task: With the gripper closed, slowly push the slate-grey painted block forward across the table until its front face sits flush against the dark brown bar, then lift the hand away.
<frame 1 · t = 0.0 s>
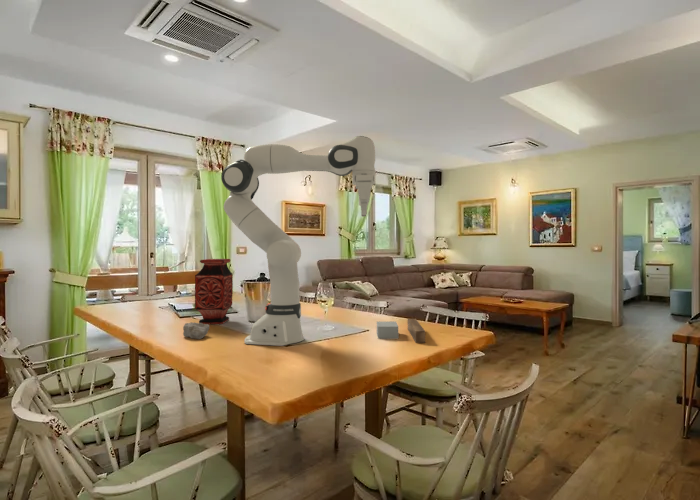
hand: (364, 215, 155), 48 cm above the table, fingers open, 8 cm apart
vase: (214, 322, 192), on the table
block: (387, 336, 163), on the table
stone: (195, 337, 162), on the table
dark brown bar: (415, 335, 162), on the table
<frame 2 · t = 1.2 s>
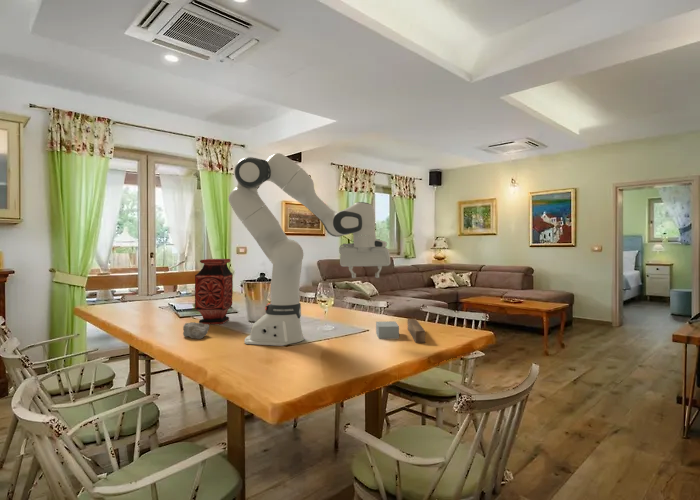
hand: (365, 277, 161), 24 cm above the table, fingers open, 8 cm apart
nothing on the table moved.
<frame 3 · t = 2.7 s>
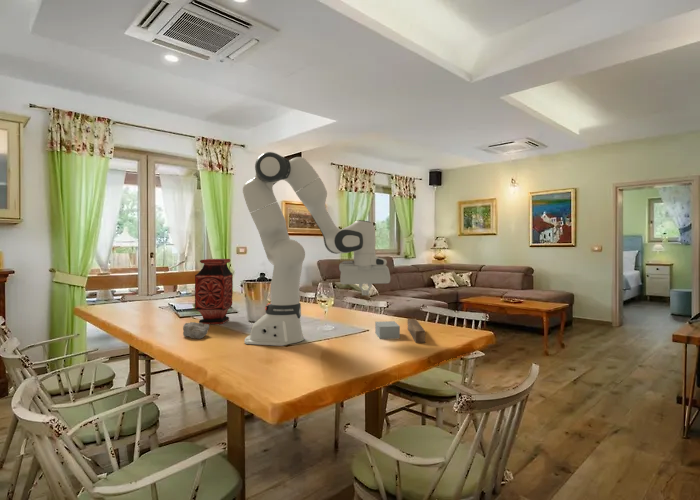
hand: (365, 294, 162), 16 cm above the table, fingers closed
nothing on the table moved.
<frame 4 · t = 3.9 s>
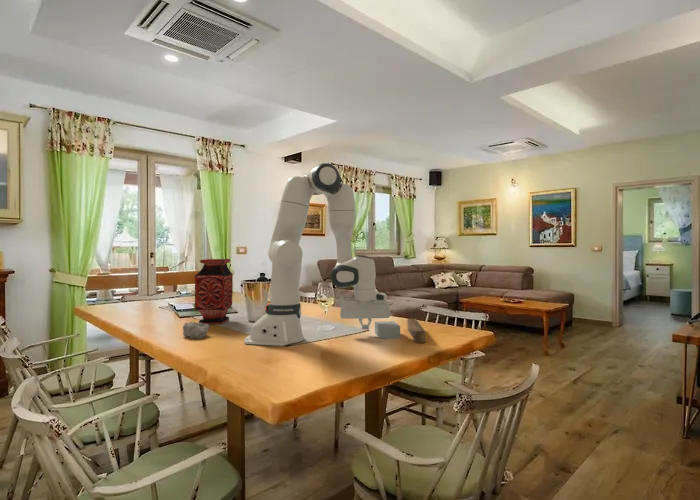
hand: (365, 329, 163), 2 cm above the table, fingers closed
nothing on the table moved.
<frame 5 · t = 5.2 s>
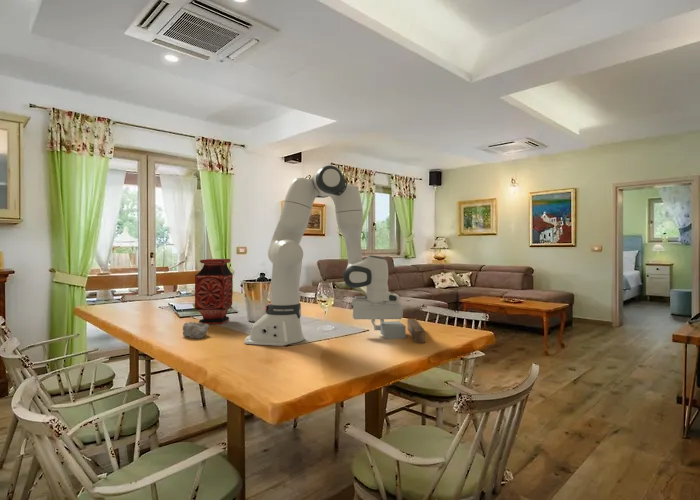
hand: (377, 330, 163), 2 cm above the table, fingers closed
block: (392, 336, 163), on the table, touching gripper
everything else where it was.
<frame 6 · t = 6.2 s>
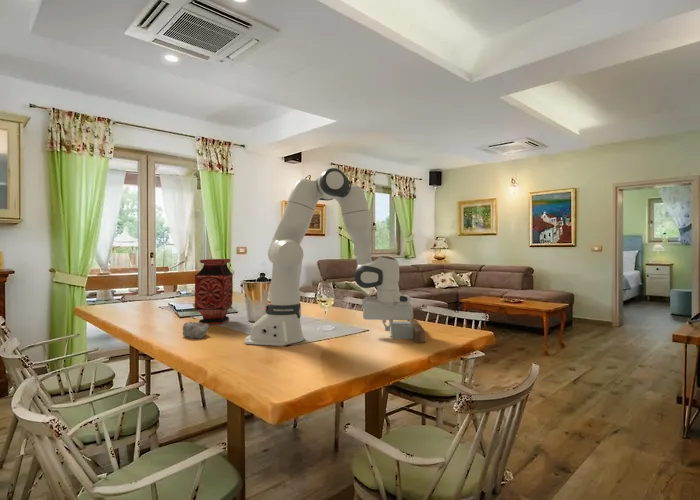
hand: (387, 330, 163), 2 cm above the table, fingers closed
block: (401, 336, 162), on the table, touching dark brown bar, gripper
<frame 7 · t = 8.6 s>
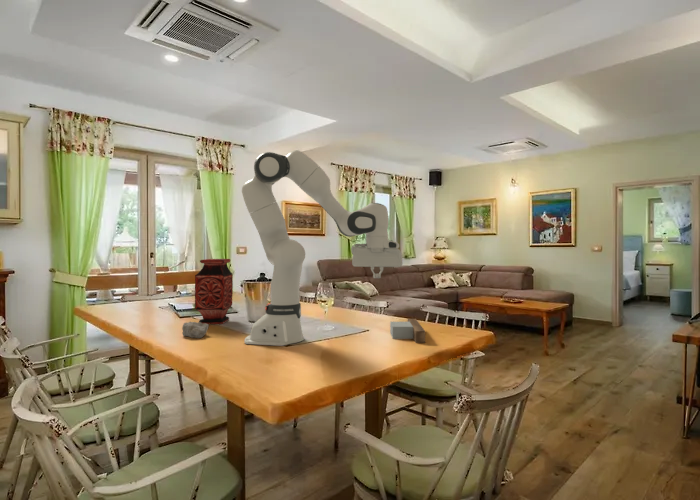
hand: (376, 278, 162), 23 cm above the table, fingers closed
block: (401, 336, 162), on the table
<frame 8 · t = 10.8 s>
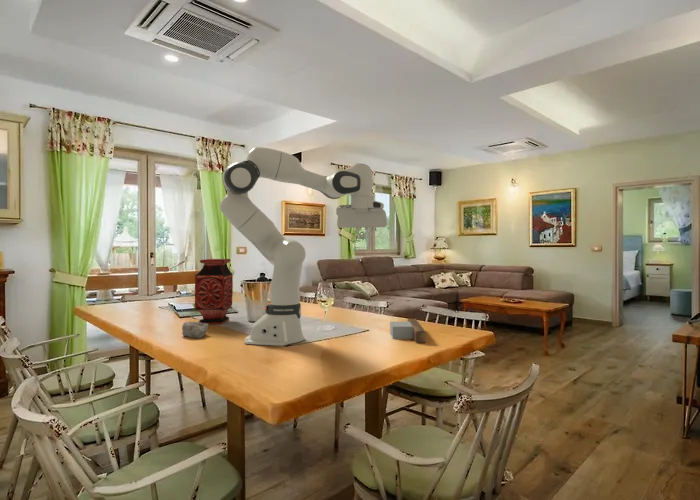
hand: (362, 238, 163), 39 cm above the table, fingers closed
at the end: block inside the target area on the table beside the dark brown bar (0.3 cm from its centre), on the table; block tilted 0° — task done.
